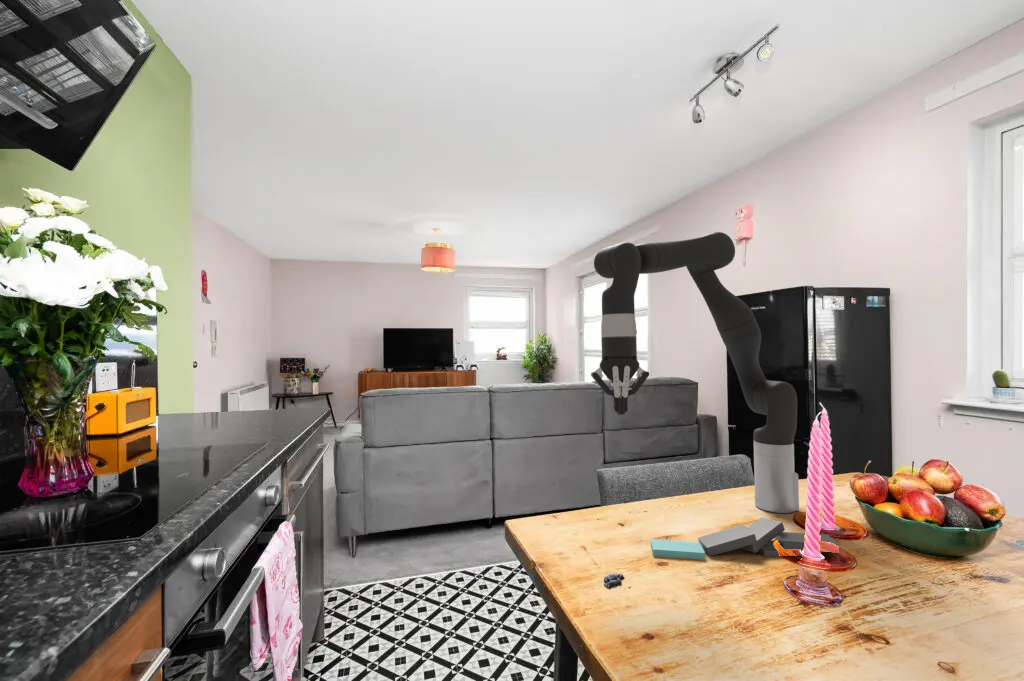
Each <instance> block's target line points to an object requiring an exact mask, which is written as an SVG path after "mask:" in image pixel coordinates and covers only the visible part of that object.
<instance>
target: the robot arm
mask: <svg viewBox="0 0 1024 681" xmlns="http://www.w3.org/2000/svg"><path fill="white" fill-rule="evenodd" d="M735 255H736V246H735V243H734V241H733V239H732V238H731V237H730V236H729V235H728V234H727V233H724V232H721V231H714V232H709V233H707V234H705V235H702V236H700V237H699V236H698V237H695V238H690V239H682V240H671V241H654V242H643V243H639V244H634V243H632V242H629V241H625V242H620V243H617V244H614V245H610V246H607V247H604V248H602V249H601V250H599V251H598V252H597V253H596V255H595V256H594V259H593V267H594V270H595V271H596V273H597V274H598V275H599V276H600V277H602V278H605V279H607V280H608V279H609V280H610V279H613V280H612V282H611V285H610V286H609V287H608V288H606V289H604V290H603V291H602V294H601V325H600V326H601V327H600V330H601V331H600V333H601V335H600V336H601V339H600V342H601V360H600V363H599V367H598V368H597V369H596V370H594V371H592V372H590V376H591V378H592V379H593V380H594V381H595V382H596V383H597V385H598V386H599V387H600V389H601V390H602V391H603V393H605V395H608V396H611V397H612V400H613V401H612V403H613V404H612V405H613V407H612V408H613V412H615V413H616V415H617V416H619V415H620V416H623V415H626V413H627V412H628V410H629V409H628V403H629V402H628V401H629V400H628V398H629V397H630V396H632V395H636V394H637V392H638V391H639V390H640V388H641V387H642V385H643V384H644V383H645V381H646V380H647V379H648V378H649V376H650V373H649V371H646V370H644V369H643V368H642V367H641V366H640V362H639V360H638V351H637V349H638V347H637V345H638V344H637V334H638V330H637V321H636V316H635V315H636V313H635V310H636V309H635V294H636V290H637V287H638V282H639V278H640V275H645V274H646V275H648V274H649V275H650V274H656V273H664V272H668V271H673V270H676V269H680V268H684V267H686V270H687V272H688V273H689V275H690V276H691V278H692V280H693V282H694V284H695V285H696V287H697V289H698V290H699V292H700V294H701V295H702V297H703V299H704V301H705V302H704V303H706V305H707V308H708V310H709V312H710V314H711V316H712V319H713V321H714V323H715V326H716V328H717V330H718V331H717V332H718V333H719V336H720V338H721V340H722V342H723V344H724V345H725V348H726V350H727V352H728V355H729V357H730V359H731V363H732V365H733V367H734V369H735V372H736V374H737V378H738V381H739V384H740V387H741V390H742V395H743V397H744V399H745V402H746V404H747V406H748V407H749V409H750V410H751V411H753V412H754V413H756V414H760V415H764V416H766V424H765V425H764V426H762V427H759V428H755V429H754V430H753V435H752V436H753V467H754V468H753V469H754V470H753V471H754V474H753V475H754V479H753V480H754V505H755V507H757V508H759V509H761V510H763V511H767V512H770V513H771V512H772V513H778V514H790V513H794V512H799V511H800V497H799V494H800V491H799V490H800V489H799V488H800V486H799V474H798V473H797V472H795V444H794V443H795V442H794V441H795V435H796V433H797V430H798V428H797V425H798V396H797V392H796V390H795V388H794V386H793V385H792V384H790V383H788V382H787V381H781V380H768V379H767V377H766V376H765V374H764V372H763V370H762V367H761V364H760V359H759V356H760V349H761V345H762V344H761V343H762V332H761V328H760V326H759V324H758V322H757V319H756V317H755V314H754V312H753V310H752V309H751V308H750V307H749V305H748V304H746V303H745V301H743V300H742V299H741V298H739V297H738V296H736V294H733V293H732V292H731V291H730V290H728V289H727V288H726V287H725V286H724V284H722V282H721V280H720V279H719V277H718V275H717V274H716V272H715V271H716V270H720V269H722V268H725V267H726V266H728V265H730V264H731V263H732V261H734V258H735ZM604 375H605V377H607V378H606V379H608V380H609V381H610V384H611V385H610V386H611V388H610V387H609V386H608V384H606V382H605V381H604V380H603V378H604ZM634 375H635V376H636V378H635V380H634V381H633V383H632V384H631V385H630V381H631V379H633V377H634ZM629 386H630V387H629Z"/></svg>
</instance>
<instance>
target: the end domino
mask: <svg viewBox="0 0 1024 681" xmlns="http://www.w3.org/2000/svg"><path fill="white" fill-rule="evenodd" d="M650 549H651V552H652V556H653V557H661V558H662V557H664V558H674V559H675V558H676V559H688V560H689V559H692V560H701V561H702V560H704V561H706V552H705V551H704V549H703V548H702V546H701V544H700V543H699V542H697V541H696V542H695V541H682V540H681V541H680V540H678V541H677V540H668V539H667V540H664V539H653V538H652V539H650Z"/></svg>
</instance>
